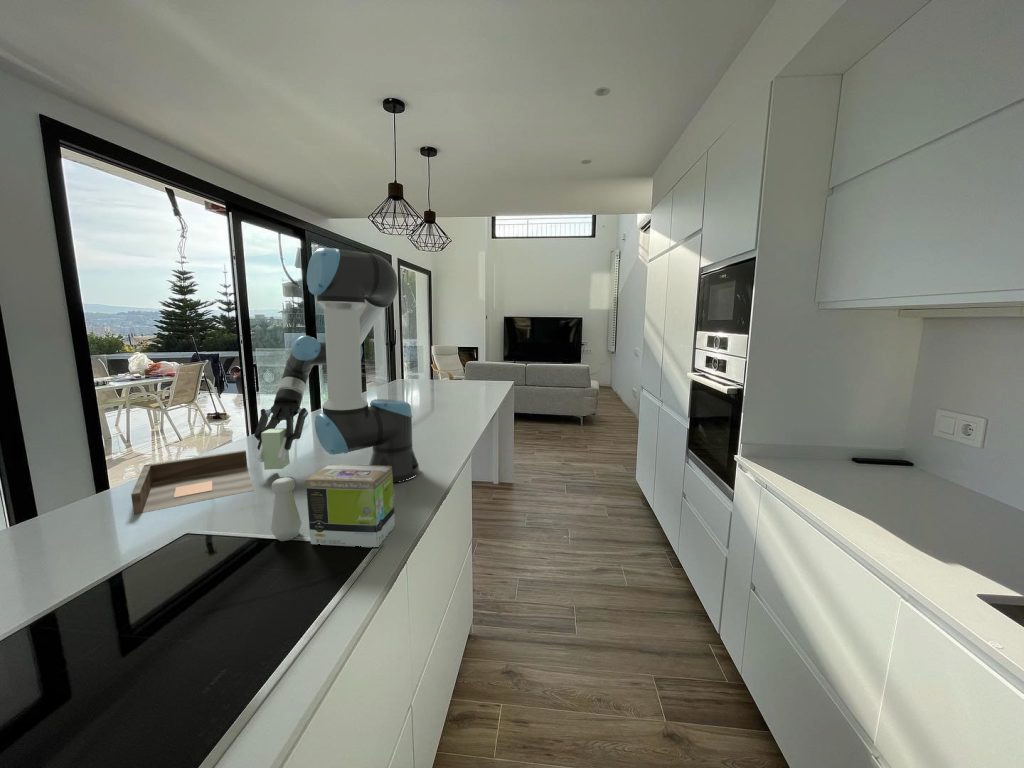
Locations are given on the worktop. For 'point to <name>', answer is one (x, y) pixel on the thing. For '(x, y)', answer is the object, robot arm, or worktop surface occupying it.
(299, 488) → the worktop surface
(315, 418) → the robot arm
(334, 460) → the worktop surface
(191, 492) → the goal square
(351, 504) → the tea box
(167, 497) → the tray
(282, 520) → the salt shaker
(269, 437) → the sage block
